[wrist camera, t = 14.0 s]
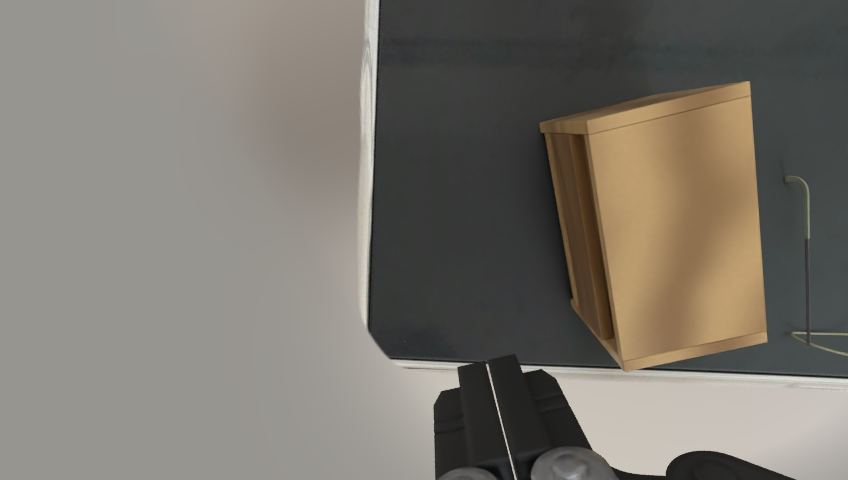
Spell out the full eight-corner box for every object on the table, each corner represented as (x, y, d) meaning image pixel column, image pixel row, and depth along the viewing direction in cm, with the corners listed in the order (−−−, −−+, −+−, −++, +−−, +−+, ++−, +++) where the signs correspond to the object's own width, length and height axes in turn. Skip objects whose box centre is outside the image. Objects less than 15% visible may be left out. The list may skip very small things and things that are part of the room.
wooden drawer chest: (569, 307, 40) (621, 373, 29) (536, 123, 36) (582, 121, 25) (675, 284, 39) (768, 342, 29) (652, 94, 36) (750, 80, 25)
